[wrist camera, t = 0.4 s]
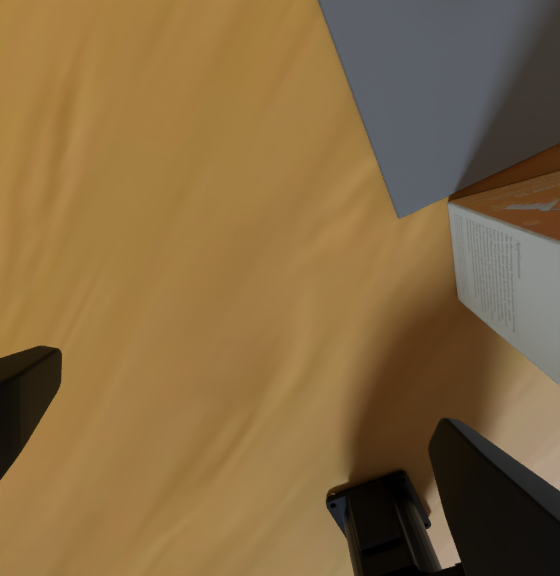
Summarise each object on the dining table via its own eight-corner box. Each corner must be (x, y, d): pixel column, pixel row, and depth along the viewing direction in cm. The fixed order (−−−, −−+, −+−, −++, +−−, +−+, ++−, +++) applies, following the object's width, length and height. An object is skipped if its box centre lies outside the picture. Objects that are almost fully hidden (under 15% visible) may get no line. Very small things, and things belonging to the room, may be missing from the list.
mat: (620, 112, 19) (625, 112, 19) (397, 217, 21) (399, 218, 20) (576, -258, 14) (582, -266, 14) (288, -81, 16) (288, -85, 15)
